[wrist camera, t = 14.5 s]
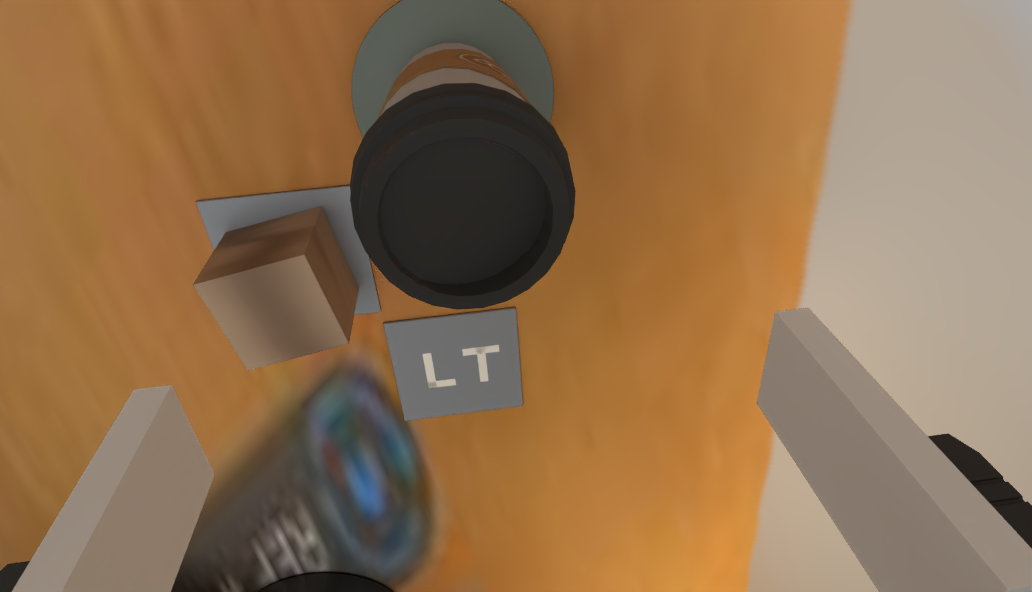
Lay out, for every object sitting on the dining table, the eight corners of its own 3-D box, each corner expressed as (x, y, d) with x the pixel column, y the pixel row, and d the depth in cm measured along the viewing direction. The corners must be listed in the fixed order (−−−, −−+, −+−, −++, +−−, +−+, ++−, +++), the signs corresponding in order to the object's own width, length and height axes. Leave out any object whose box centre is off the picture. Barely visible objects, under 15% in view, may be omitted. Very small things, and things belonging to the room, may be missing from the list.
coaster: (373, 198, 37) (372, 202, 36) (332, -4, 31) (330, -2, 30) (554, 179, 38) (556, 183, 37) (548, -22, 32) (550, -21, 31)
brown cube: (270, 311, 40) (248, 370, 35) (225, 232, 37) (192, 284, 32) (359, 287, 40) (348, 343, 35) (321, 205, 37) (304, 254, 32)
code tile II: (243, 326, 41) (243, 328, 41) (196, 200, 36) (195, 202, 36) (381, 310, 41) (380, 312, 41) (353, 184, 36) (352, 186, 36)
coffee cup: (559, 85, 34) (633, 195, 22) (470, 199, 37) (491, 354, 25) (432, -17, 31) (434, 43, 18) (346, 118, 34) (296, 249, 21)
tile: (405, 418, 47) (405, 420, 47) (383, 322, 42) (383, 324, 42) (522, 403, 47) (523, 405, 47) (515, 307, 42) (515, 308, 42)
